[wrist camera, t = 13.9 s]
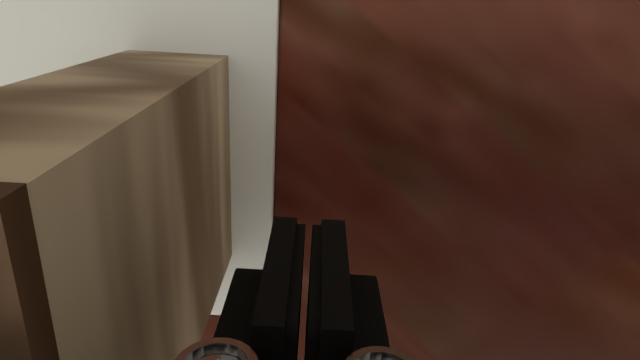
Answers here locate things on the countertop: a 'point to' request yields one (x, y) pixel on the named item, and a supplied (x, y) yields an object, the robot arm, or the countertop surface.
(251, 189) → the mat
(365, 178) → the countertop surface
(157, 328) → the slab
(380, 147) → the countertop surface
